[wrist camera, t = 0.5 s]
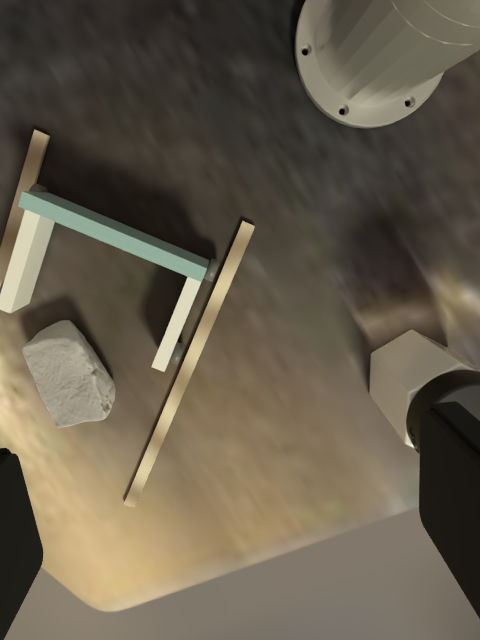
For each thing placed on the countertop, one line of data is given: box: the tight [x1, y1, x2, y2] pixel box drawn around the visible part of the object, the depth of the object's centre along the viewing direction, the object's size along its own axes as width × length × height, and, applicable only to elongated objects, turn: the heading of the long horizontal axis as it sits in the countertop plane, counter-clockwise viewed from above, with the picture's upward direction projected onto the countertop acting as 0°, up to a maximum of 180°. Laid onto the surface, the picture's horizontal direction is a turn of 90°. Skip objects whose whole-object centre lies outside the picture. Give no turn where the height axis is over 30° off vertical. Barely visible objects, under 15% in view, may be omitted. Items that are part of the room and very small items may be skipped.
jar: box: [369, 330, 480, 455], centre depth 38 cm, size 9×8×12 cm
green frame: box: [0, 183, 220, 372], centre depth 37 cm, size 11×17×5 cm, turn 67°
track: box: [0, 129, 255, 508], centre depth 41 cm, size 32×20×1 cm, turn 157°
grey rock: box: [22, 320, 116, 428], centre depth 41 cm, size 10×6×6 cm, turn 13°
